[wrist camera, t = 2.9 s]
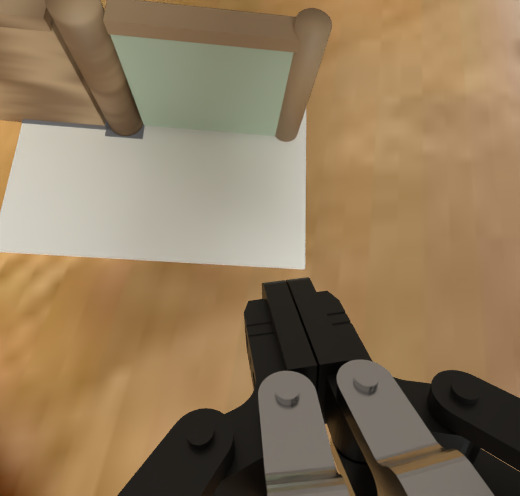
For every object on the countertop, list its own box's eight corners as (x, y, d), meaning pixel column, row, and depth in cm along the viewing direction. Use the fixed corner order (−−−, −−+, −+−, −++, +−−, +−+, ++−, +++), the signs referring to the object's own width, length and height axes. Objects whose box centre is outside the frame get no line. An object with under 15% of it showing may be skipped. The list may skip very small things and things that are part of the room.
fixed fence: (146, 111, 27) (101, -20, 18) (142, 140, 27) (93, 20, 17) (-20, 97, 26) (-161, -48, 17) (-28, 126, 26) (-180, -7, 16)
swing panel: (298, 120, 27) (331, 10, 18) (297, 142, 27) (332, 39, 18) (146, 108, 26) (105, -14, 18) (143, 130, 26) (99, 16, 17)
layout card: (305, 61, 30) (306, 57, 29) (304, 269, 25) (305, 268, 25) (46, 36, 28) (43, 32, 28) (-6, 252, 24) (-10, 250, 23)
